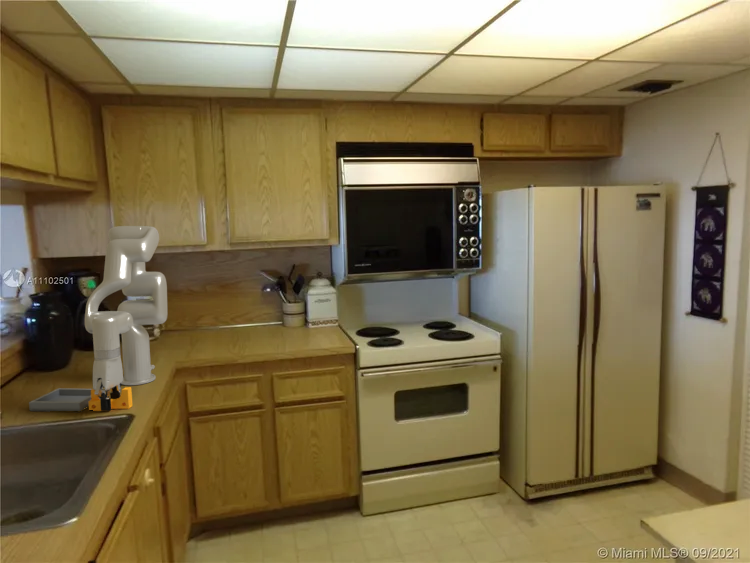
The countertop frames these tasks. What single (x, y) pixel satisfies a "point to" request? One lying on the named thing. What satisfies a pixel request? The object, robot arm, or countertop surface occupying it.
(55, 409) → the parts tray
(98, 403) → the pipe clamp
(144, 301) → the robot arm
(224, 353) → the countertop surface
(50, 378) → the countertop surface
